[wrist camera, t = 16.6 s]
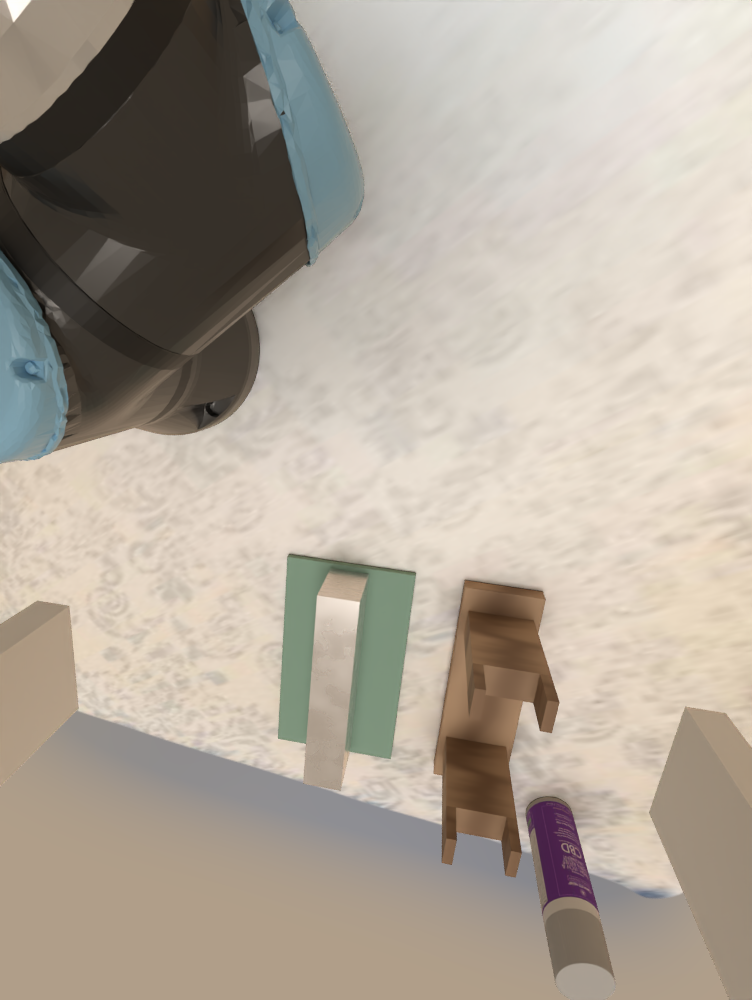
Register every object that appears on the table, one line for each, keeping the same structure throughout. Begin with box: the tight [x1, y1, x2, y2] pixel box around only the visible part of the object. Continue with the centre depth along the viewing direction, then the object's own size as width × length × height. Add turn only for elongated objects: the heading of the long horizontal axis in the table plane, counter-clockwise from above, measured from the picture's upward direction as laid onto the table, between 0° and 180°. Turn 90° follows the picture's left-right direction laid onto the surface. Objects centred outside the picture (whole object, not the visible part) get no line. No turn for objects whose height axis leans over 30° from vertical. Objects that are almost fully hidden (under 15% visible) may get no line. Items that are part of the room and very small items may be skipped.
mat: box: [278, 554, 416, 759], centre depth 51 cm, size 12×21×1 cm, turn 175°
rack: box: [434, 580, 559, 877], centre depth 44 cm, size 7×21×12 cm, turn 175°
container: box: [526, 797, 616, 1000], centre depth 47 cm, size 5×5×15 cm
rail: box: [303, 568, 369, 791], centre depth 49 cm, size 4×20×5 cm, turn 174°
